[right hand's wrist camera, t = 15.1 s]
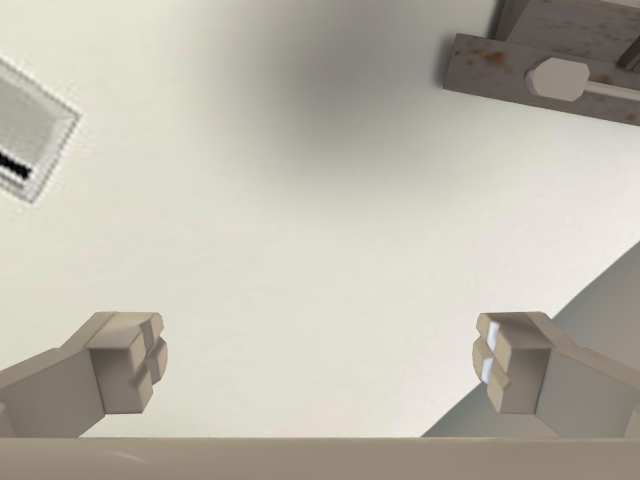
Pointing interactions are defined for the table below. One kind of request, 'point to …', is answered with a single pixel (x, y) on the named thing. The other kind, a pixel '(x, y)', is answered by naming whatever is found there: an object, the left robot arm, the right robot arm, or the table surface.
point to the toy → (557, 58)
